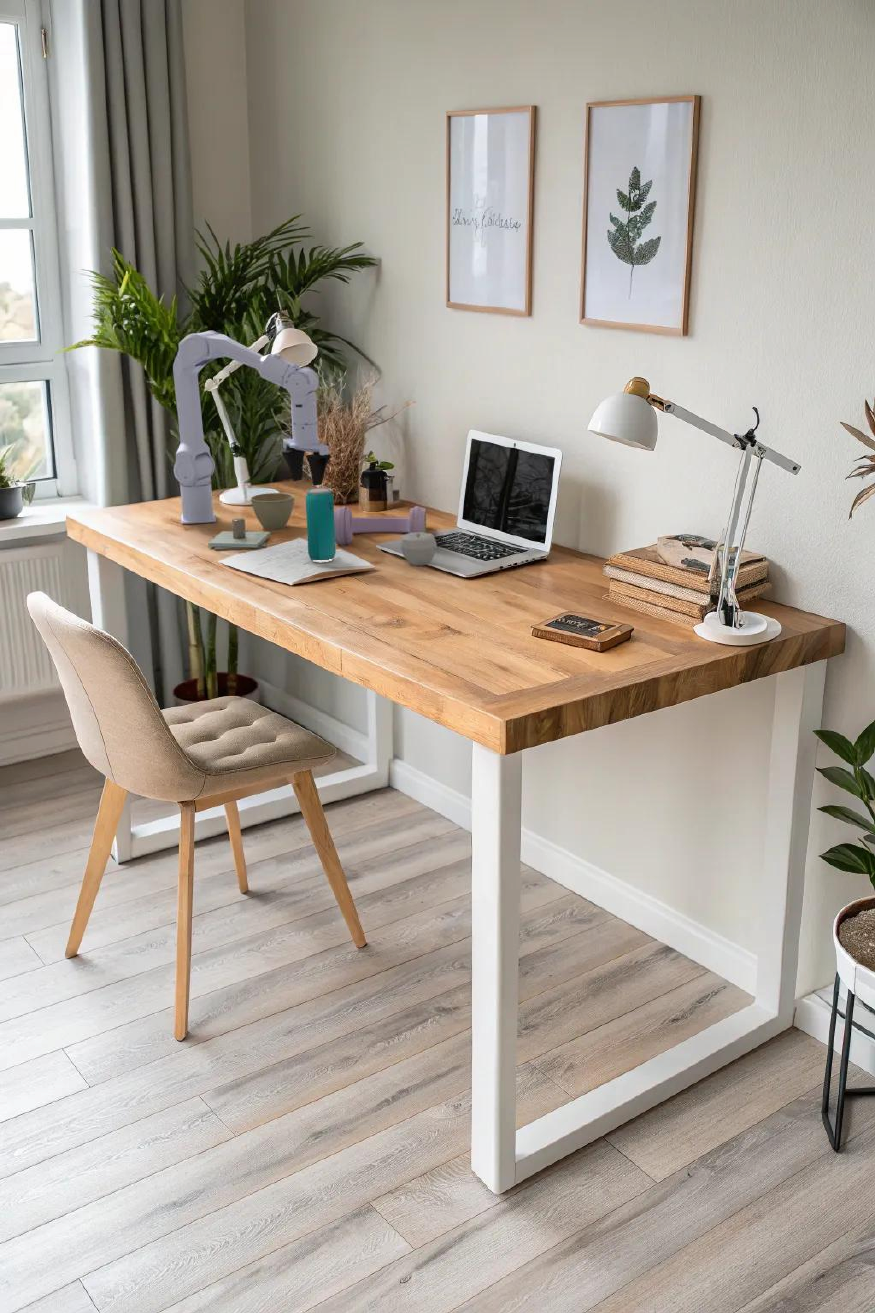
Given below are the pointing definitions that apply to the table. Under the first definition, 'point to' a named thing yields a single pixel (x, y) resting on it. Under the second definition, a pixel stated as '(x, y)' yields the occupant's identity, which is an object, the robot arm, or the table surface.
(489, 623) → the table surface
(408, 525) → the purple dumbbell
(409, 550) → the apple
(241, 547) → the mat
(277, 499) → the flower pot
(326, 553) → the beverage can
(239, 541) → the lid
